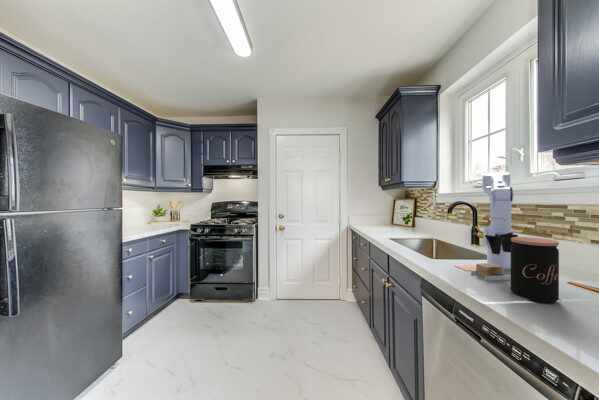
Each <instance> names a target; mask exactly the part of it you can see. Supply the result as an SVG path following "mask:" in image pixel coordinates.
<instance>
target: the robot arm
mask: <svg viewBox="0 0 599 400" xmlns="http://www.w3.org/2000/svg"><path fill="white" fill-rule="evenodd" d="M510 184H511V174H510V173H509V172H508V171H507V172H498V173H497V172H496V173H494V172H493V173H483V174H482V190H483V193H485V194H488V197H489V208H490V211H489V212H490V213H489V215H490V225H488V226H487V227H485V228H484V229H483V234H482V235H483V238H482V239H483V241H482V242H483V245H484V246H486V251H487V252H486V263H491V264H494V265H498V266H501V267H502V270H511V245H512V244H513V242H512V241H511V238H512V237H519V236H518V234H515V232H516V231H515V228H512V203H513V202H514V201H513V200H514V189H513V187H512V186H510Z"/></svg>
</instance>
